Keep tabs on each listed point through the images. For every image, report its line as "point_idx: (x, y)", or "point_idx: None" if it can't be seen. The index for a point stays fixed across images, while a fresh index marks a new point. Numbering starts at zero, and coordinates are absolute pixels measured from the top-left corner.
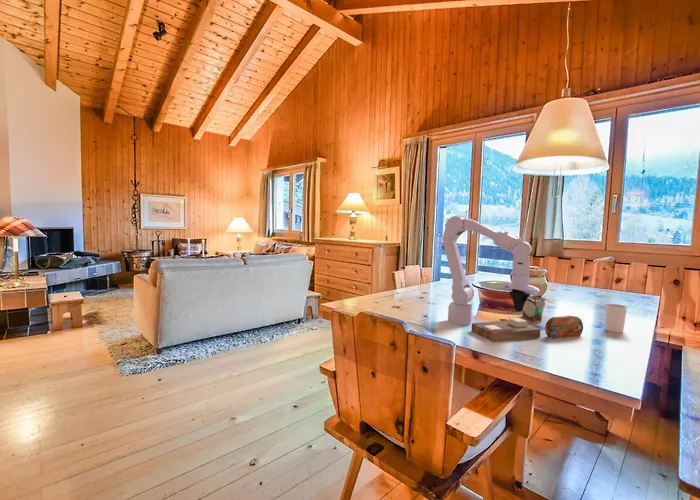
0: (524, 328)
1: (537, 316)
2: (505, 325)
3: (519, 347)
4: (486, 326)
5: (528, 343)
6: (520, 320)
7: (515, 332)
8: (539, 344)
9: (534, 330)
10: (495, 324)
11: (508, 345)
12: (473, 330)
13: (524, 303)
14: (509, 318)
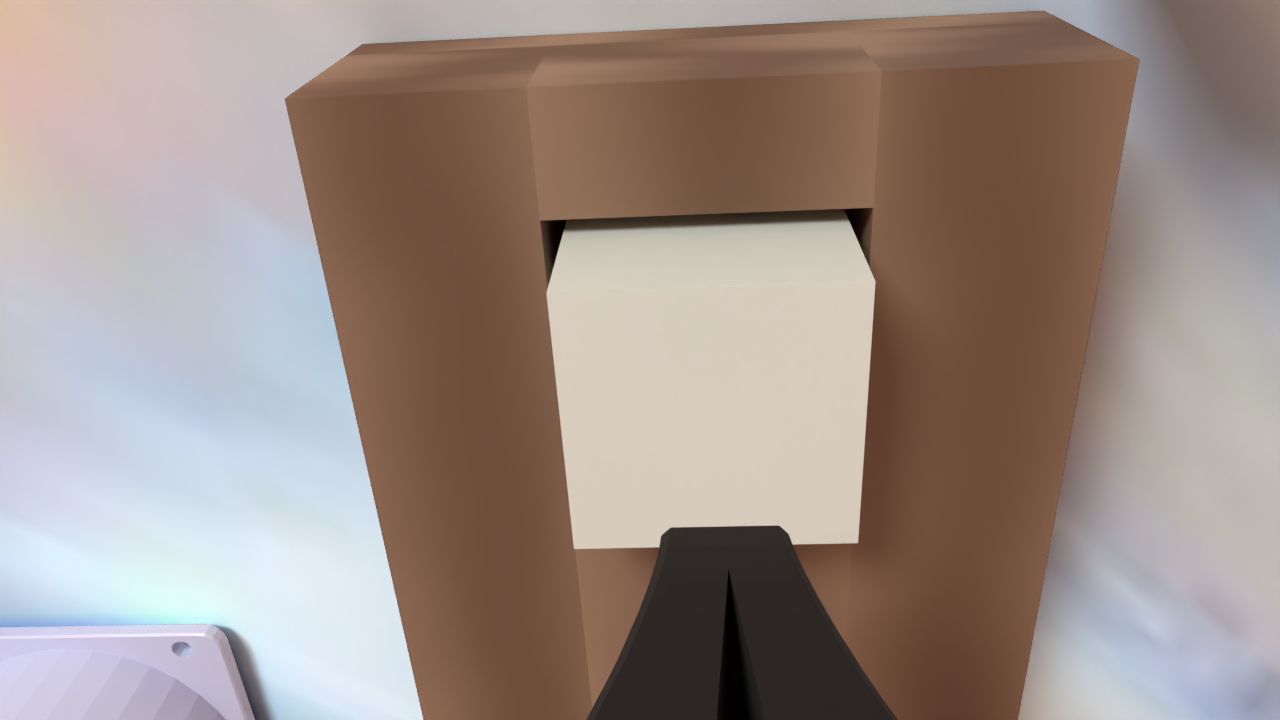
0: (958, 392)
1: None
2: None
3: (1152, 575)
4: None
5: (1089, 350)
6: (783, 415)
7: (1025, 629)
8: (1209, 206)
9: (1099, 233)
10: (591, 703)
11: (1030, 650)
12: None
13: (890, 714)
14: (577, 538)
